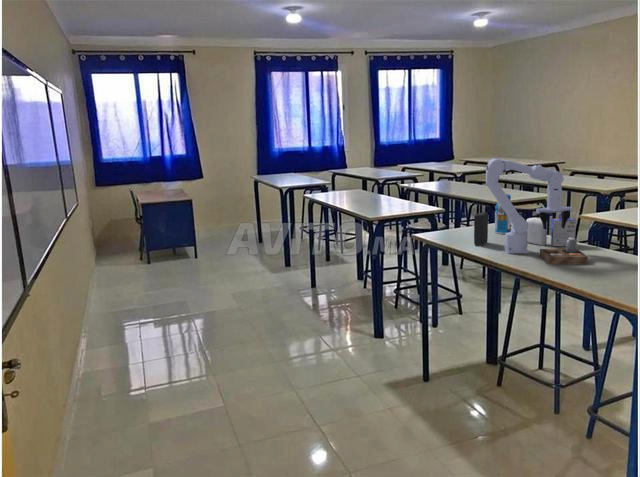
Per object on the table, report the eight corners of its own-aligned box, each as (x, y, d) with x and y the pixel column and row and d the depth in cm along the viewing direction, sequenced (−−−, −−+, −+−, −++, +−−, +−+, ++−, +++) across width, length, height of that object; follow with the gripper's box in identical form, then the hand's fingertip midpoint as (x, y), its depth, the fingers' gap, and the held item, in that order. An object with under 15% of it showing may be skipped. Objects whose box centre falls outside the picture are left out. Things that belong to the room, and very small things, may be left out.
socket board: (548, 264, 215) (549, 256, 215) (539, 255, 229) (539, 248, 228) (587, 263, 213) (587, 255, 212) (575, 254, 227) (576, 247, 226)
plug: (567, 259, 220) (568, 239, 218) (564, 257, 224) (565, 237, 222) (577, 259, 220) (578, 239, 218) (574, 257, 224) (575, 237, 222)
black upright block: (480, 241, 260) (480, 211, 256) (488, 242, 257) (488, 212, 254) (472, 245, 253) (473, 214, 249) (481, 246, 250) (481, 215, 247)
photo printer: (547, 244, 246) (549, 218, 243) (542, 246, 244) (543, 220, 241) (529, 240, 255) (530, 216, 252) (523, 242, 253) (524, 217, 250)
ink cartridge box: (572, 243, 246) (574, 213, 242) (575, 246, 240) (577, 215, 237) (549, 243, 248) (551, 213, 244) (552, 246, 242) (553, 215, 239)
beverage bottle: (491, 231, 278) (491, 194, 274) (505, 230, 280) (506, 193, 275) (500, 235, 270) (501, 196, 266) (514, 233, 272) (515, 195, 267)
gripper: (539, 200, 226) (539, 231, 229) (574, 198, 224) (574, 229, 227) (535, 198, 233) (534, 227, 236) (569, 196, 231) (568, 226, 234)
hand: (553, 228), depth 232 cm, fingers open, 7 cm apart
